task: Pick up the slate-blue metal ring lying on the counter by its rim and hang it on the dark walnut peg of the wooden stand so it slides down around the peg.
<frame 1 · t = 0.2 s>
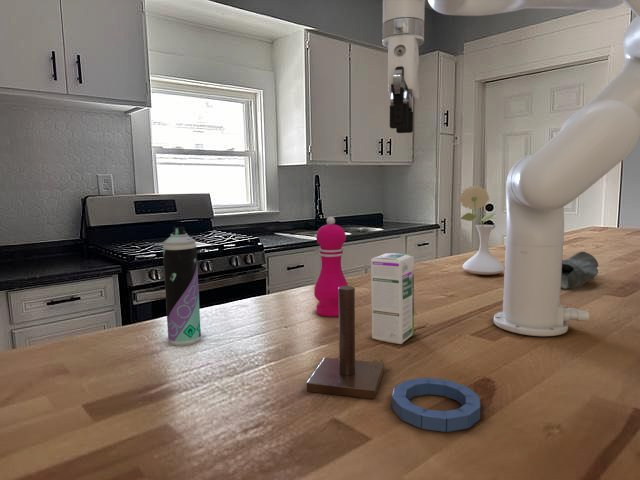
hand: (401, 130, 87), 36 cm above the worktop, tool pointing down, fingers open, 9 cm apart
ring: (435, 408, 56), on the worktop
spray can: (184, 341, 81), on the worktop
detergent: (573, 281, 122), on the worktop
pepper mill: (331, 313, 96), on the worktop
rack: (347, 380, 64), on the worktop
syrup box: (392, 338, 81), on the worktop
flower in vase: (480, 273, 133), on the worktop
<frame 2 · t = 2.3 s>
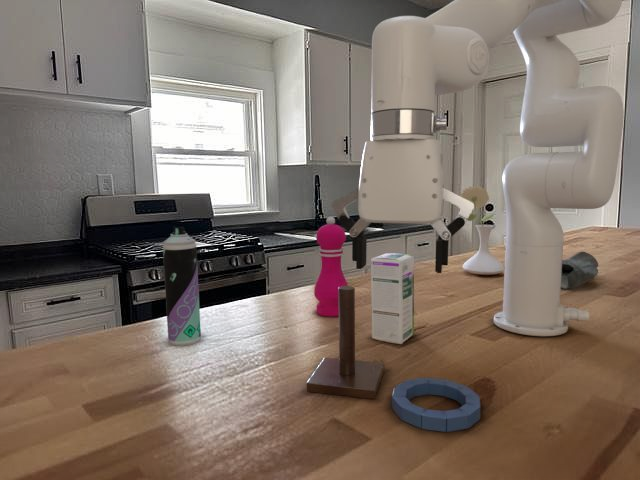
hand: (399, 269, 58), 16 cm above the worktop, tool pointing down, fingers open, 9 cm apart
nothing on the worktop moved.
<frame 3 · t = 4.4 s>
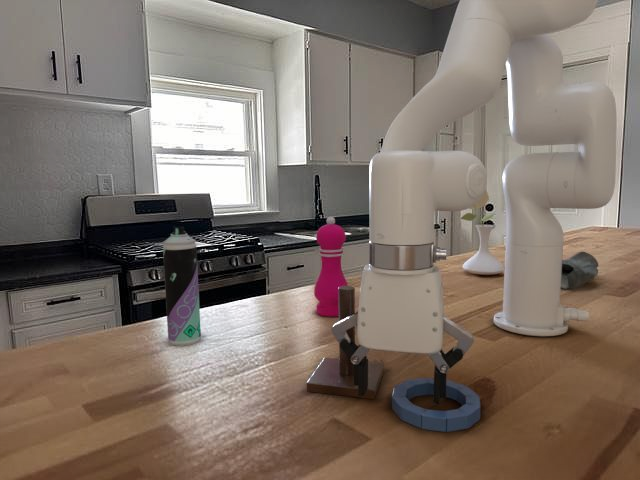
hand: (399, 394, 57), 1 cm above the worktop, tool pointing down, fingers open, 8 cm apart
nothing on the worktop moved.
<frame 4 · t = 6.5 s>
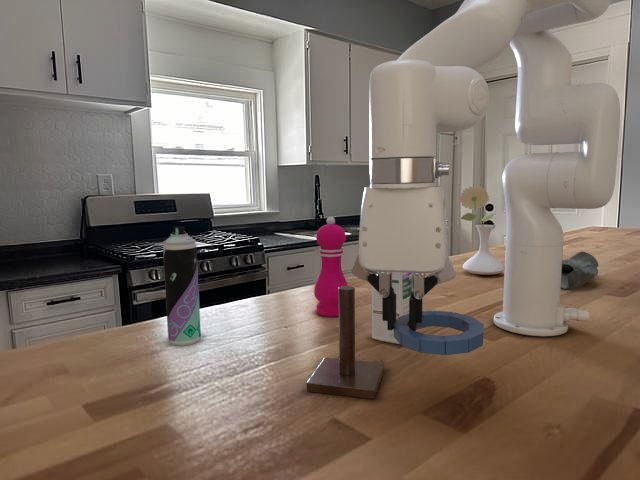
hand: (402, 326, 56), 10 cm above the worktop, tool pointing down, fingers closed on ring
ring: (438, 337, 55), point 9 cm above the worktop, touching gripper
everything else where it was.
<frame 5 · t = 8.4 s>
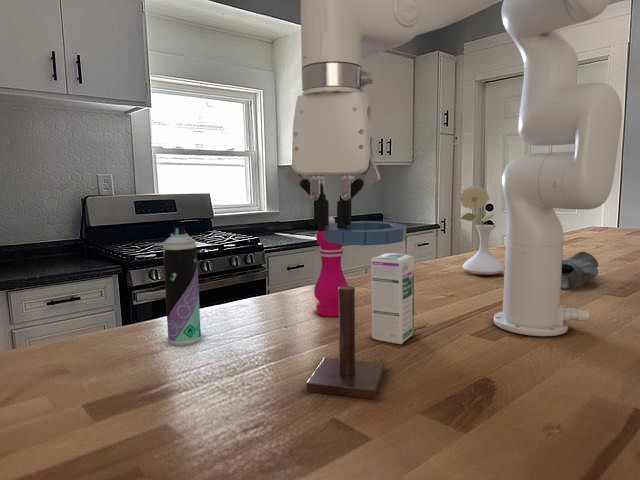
hand: (332, 229, 61), 21 cm above the worktop, tool pointing down, fingers closed on ring
ring: (364, 238, 60), point 20 cm above the worktop, touching gripper
everything else where it was.
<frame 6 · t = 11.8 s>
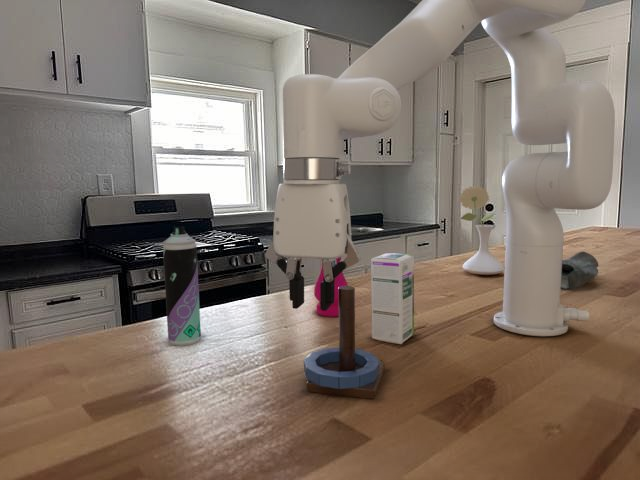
hand: (312, 305, 64), 10 cm above the worktop, tool pointing down, fingers open, 3 cm apart
ring: (341, 371, 64), point 1 cm above the worktop, touching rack
everything else where it was.
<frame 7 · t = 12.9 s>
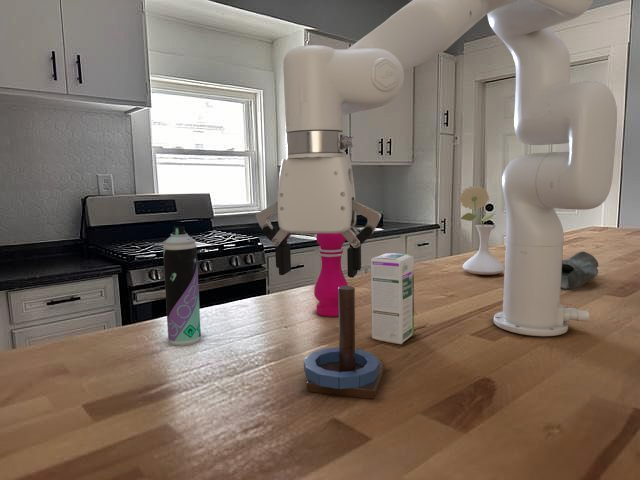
hand: (318, 274, 64), 15 cm above the worktop, tool pointing down, fingers open, 9 cm apart
nothing on the worktop moved.
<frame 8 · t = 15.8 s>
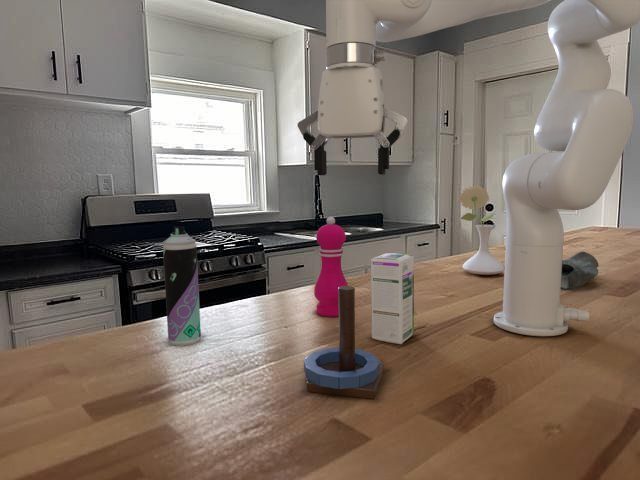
hand: (351, 174, 73), 28 cm above the worktop, tool pointing down, fingers open, 9 cm apart
nothing on the worktop moved.
at the end: ring 0.8 cm from the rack (horizontally); ring point 1.2 cm above the worktop; the gripper is holding nothing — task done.
